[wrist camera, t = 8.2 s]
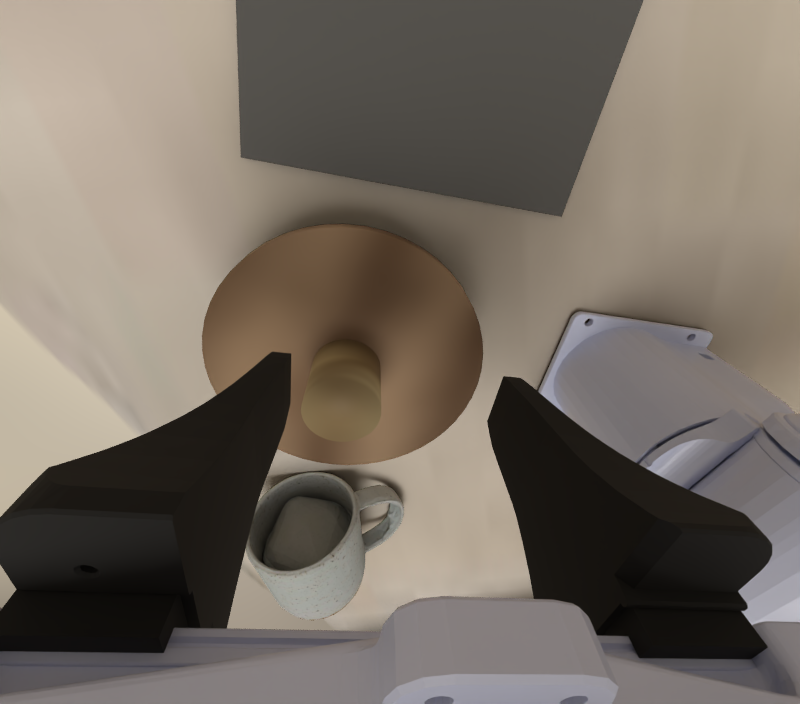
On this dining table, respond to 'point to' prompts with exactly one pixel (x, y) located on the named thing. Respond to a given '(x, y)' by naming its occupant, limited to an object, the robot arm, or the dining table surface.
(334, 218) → the dining table surface
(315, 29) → the rubber mat
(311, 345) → the walnut cover
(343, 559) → the ceramic mug
